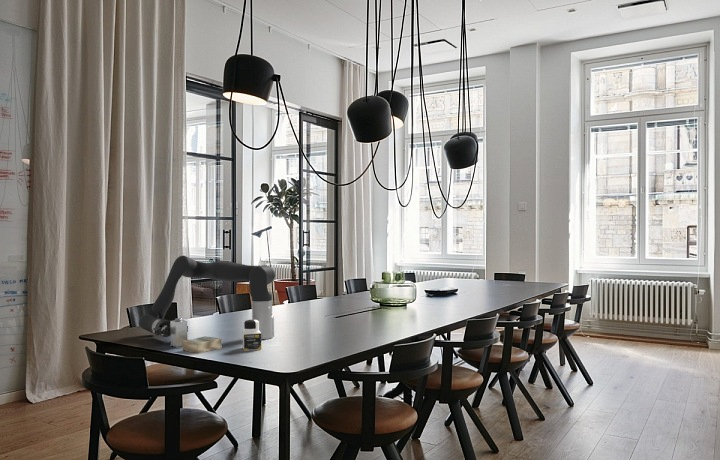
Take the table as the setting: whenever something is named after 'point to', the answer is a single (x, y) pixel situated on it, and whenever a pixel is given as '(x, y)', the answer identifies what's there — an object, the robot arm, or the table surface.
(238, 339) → the table surface
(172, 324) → the housing
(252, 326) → the medicine bottle
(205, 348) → the stand
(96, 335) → the table surface
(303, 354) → the table surface
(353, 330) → the table surface
